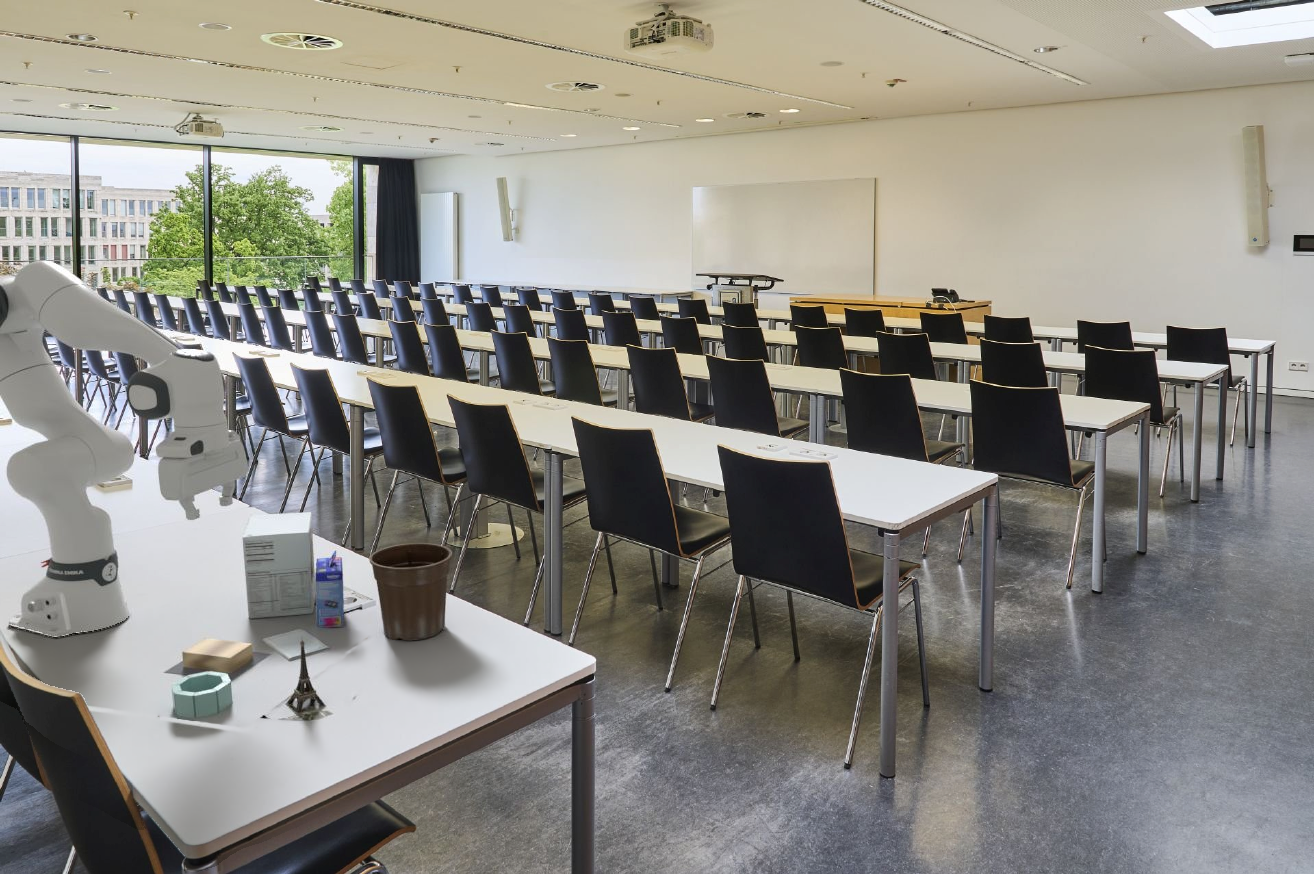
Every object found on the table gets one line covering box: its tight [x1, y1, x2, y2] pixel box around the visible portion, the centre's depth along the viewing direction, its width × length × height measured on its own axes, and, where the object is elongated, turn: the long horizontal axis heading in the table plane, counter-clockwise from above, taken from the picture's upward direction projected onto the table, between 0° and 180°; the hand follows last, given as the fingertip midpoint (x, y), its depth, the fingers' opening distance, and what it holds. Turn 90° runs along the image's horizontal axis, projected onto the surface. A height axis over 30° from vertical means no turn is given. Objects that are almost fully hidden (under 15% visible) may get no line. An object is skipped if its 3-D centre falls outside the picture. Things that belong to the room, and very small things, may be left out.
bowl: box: [171, 671, 233, 722], centre depth 168 cm, size 9×9×4 cm
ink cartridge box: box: [315, 550, 345, 629], centre depth 205 cm, size 10×6×14 cm, turn 18°
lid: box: [181, 637, 254, 673], centre depth 184 cm, size 10×6×3 cm, turn 77°
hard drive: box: [261, 628, 331, 661], centre depth 193 cm, size 2×8×12 cm
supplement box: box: [242, 511, 316, 620], centre depth 214 cm, size 17×13×18 cm
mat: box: [163, 651, 272, 682], centre depth 184 cm, size 14×12×1 cm
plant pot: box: [368, 542, 453, 641], centre depth 201 cm, size 16×16×16 cm
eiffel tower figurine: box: [259, 641, 355, 722], centre depth 168 cm, size 15×10×13 cm
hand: (210, 511), depth 183 cm, fingers open, 8 cm apart
